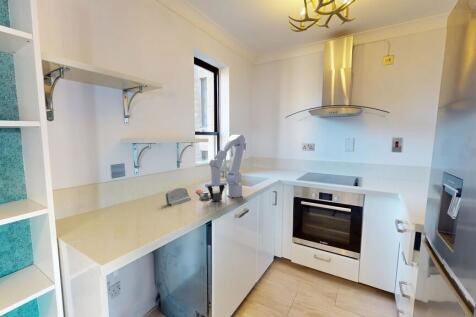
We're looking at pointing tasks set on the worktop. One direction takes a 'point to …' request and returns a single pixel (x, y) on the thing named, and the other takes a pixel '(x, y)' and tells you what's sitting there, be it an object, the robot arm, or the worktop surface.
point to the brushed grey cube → (217, 196)
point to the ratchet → (203, 195)
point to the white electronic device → (177, 196)
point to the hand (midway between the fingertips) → (216, 196)
